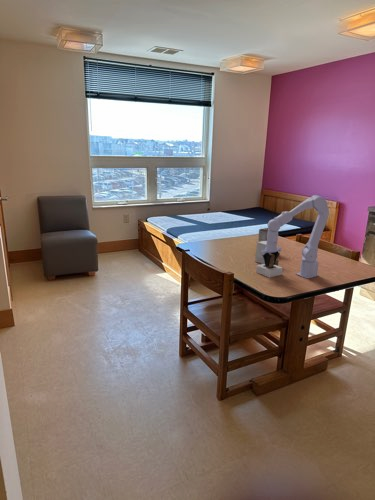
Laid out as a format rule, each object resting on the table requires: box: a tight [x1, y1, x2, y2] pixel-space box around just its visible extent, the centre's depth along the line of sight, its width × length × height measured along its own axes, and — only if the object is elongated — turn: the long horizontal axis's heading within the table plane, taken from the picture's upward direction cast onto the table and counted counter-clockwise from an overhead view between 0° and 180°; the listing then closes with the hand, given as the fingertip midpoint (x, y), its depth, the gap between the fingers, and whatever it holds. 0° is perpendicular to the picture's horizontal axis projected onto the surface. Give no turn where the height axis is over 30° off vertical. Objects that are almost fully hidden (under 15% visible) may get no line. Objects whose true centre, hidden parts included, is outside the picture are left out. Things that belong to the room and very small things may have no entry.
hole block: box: [255, 264, 284, 279], centre depth 193 cm, size 10×10×4 cm
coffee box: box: [257, 227, 268, 242], centre depth 232 cm, size 9×6×16 cm
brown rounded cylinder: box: [266, 254, 275, 269], centre depth 192 cm, size 4×4×8 cm
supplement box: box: [254, 241, 270, 265], centre depth 211 cm, size 7×7×13 cm
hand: (269, 265), depth 193 cm, fingers closed on brown rounded cylinder, 4 cm apart
